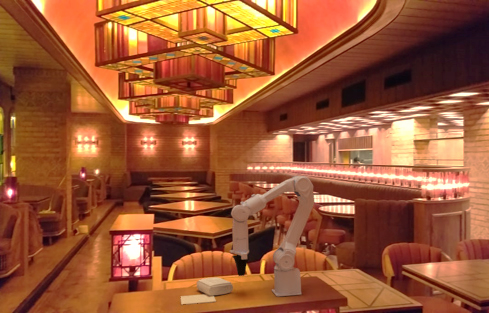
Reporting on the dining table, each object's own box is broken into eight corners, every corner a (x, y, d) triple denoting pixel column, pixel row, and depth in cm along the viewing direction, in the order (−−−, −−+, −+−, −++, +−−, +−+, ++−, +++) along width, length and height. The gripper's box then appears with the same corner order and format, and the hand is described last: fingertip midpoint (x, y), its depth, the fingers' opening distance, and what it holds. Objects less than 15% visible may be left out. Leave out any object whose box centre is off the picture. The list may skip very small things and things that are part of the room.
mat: (213, 294, 153) (212, 293, 153) (215, 301, 145) (215, 301, 145) (180, 297, 151) (180, 296, 151) (181, 304, 142) (181, 304, 142)
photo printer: (233, 293, 155) (217, 286, 165) (233, 281, 155) (217, 275, 165) (209, 297, 149) (194, 289, 159) (209, 285, 149) (194, 278, 160)
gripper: (226, 235, 158) (227, 271, 157) (232, 241, 144) (233, 281, 143) (244, 234, 159) (245, 270, 159) (252, 240, 145) (253, 279, 145)
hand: (241, 275), depth 151 cm, fingers closed
